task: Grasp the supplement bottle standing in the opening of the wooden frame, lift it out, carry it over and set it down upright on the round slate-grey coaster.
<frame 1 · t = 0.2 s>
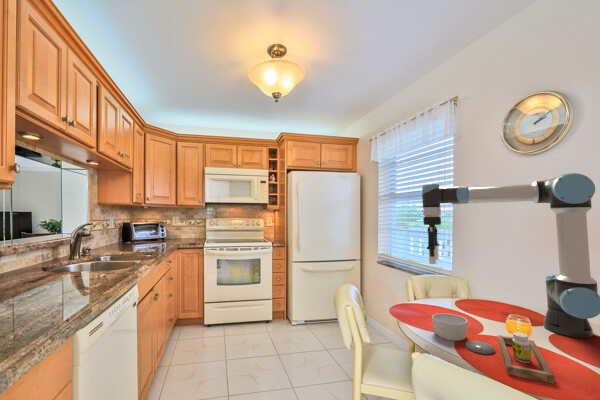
hand: (434, 261, 133), 28 cm above the table, fingers open, 13 cm apart
coaster: (479, 348, 105), on the table
supplement bottle: (521, 360, 96), resting in wooden frame
wooden frame: (521, 359, 96), on the table
ramekin: (450, 336, 117), on the table
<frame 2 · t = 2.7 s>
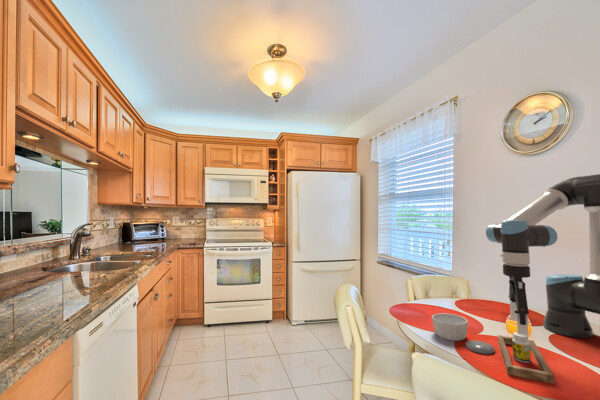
hand: (519, 327, 97), 11 cm above the table, fingers open, 13 cm apart
nothing on the table moved.
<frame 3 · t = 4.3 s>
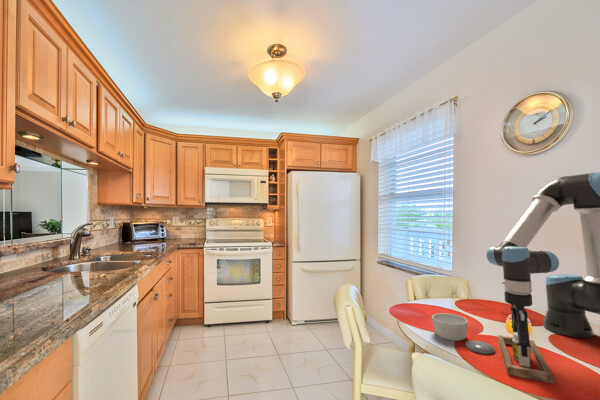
hand: (521, 358, 96), 0 cm above the table, fingers open, 9 cm apart
nothing on the table moved.
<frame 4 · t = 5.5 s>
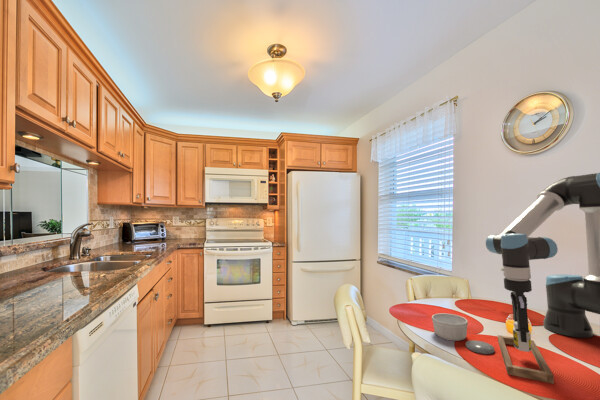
hand: (522, 347, 97), 4 cm above the table, fingers closed on supplement bottle, 5 cm apart
supplement bottle: (522, 349, 97), point 3 cm above the table, touching gripper
everything else where it was.
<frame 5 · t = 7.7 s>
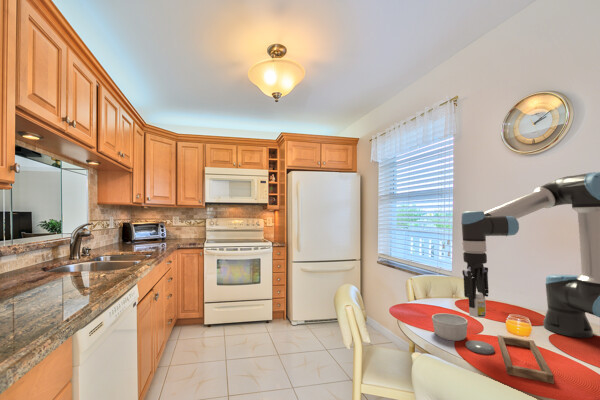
hand: (477, 314, 106), 12 cm above the table, fingers closed on supplement bottle, 5 cm apart
supplement bottle: (478, 316, 106), point 12 cm above the table, touching gripper
everything else where it was.
when the fingers open (2 cm above the table, at t = 10.1 s): supplement bottle stays where it is, resting on coaster.
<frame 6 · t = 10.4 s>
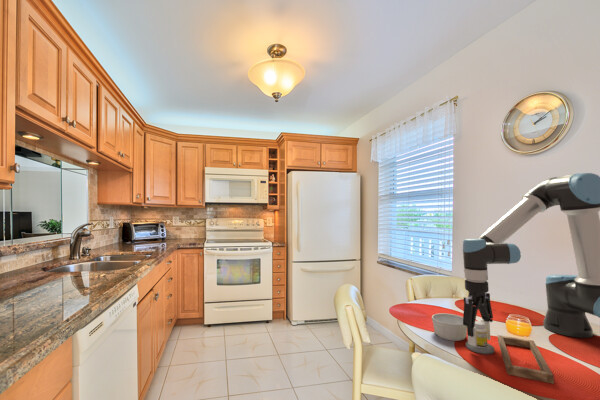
hand: (479, 341, 105), 2 cm above the table, fingers open, 9 cm apart
supplement bottle: (479, 346, 105), point 1 cm above the table, touching coaster
everything else where it was.
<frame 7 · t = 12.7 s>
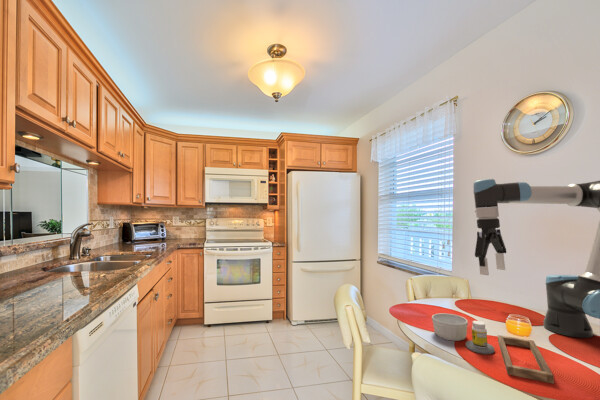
hand: (493, 272, 112), 27 cm above the table, fingers open, 13 cm apart
nothing on the table moved.
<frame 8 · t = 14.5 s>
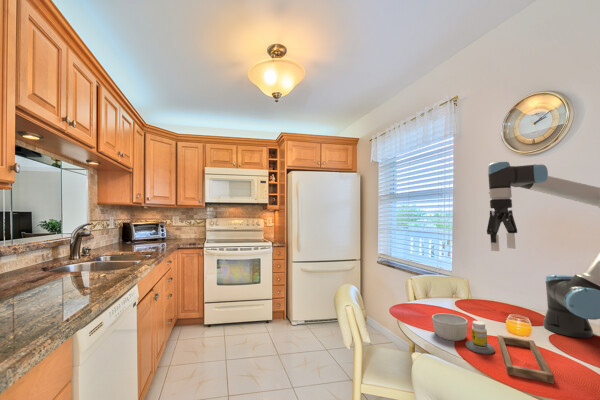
hand: (503, 249, 118), 35 cm above the table, fingers open, 13 cm apart
nothing on the table moved.
at the end: supplement bottle 0.1 cm from the coaster (horizontally); supplement bottle tilted 0°; the gripper is holding nothing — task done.
